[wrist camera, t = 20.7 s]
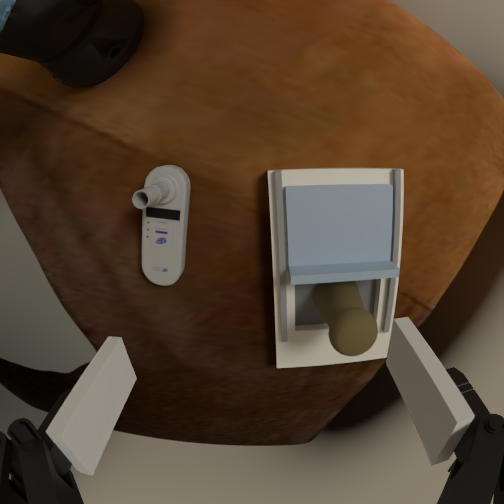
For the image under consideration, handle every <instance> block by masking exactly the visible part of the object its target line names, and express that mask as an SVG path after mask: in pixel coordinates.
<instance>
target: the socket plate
mask: <svg viewBox="0 0 504 504" xmlns="http://www.w3.org/2000/svg"><path fill="white" fill-rule="evenodd" d="M267 171H268V188H269V205H270V222H271V241H272V261H273V283H274V306H275V331H276V360H277V368H289V367H304V366H317V365H328V364H339V363H348V362H356V361H364V360H372V359H379V358H386V357H387V352H388V347H389V341H390V336H391V330H392V324H393V317H394V311H395V303H396V296H397V288H398V279H399V277H396V278H384V279H371V280H358V281H355V283H356V284H357V287H358V290H359V293H360V296H361V299H362V302H363V305H364V309H365V310H367V311H368V312H369V313H371V314H372V315H373V317H374V318H375V320H376V322H377V327H378V335H377V339H376V341H375V343H374V344H373V346H372V347H371V348H370V349H369V350H368V351H366V352H365V353H363V354H361V355H358V356H346V355H342V354H340V353H339V352H337V351H336V350H335V349H334V348H333V346H332V345H331V343H330V340H329V335H328V333H329V326H328V324H327V323H326V321H325V320H324V318H323V317H322V315H321V314H320V312H319V310H318V309H317V307H316V306H315V304H314V301H313V290H314V288H315V286H316V284H317V283H314V284H297V285H291V283H290V277H289V271H288V241H287V216H286V195H285V186H303V185H339V184H391V185H393V215H392V239H391V255H390V261H391V262H393V263H394V264H395V265H396V266H397V267H398V268H399V269H400V258H401V244H402V227H403V193H404V176H403V169H395V168H307V169H281V170H267Z"/></svg>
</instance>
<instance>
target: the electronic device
mask: <svg viewBox="0 0 504 504" xmlns="http://www.w3.org/2000/svg"><path fill="white" fill-rule="evenodd" d="M189 199H190V180H189V178H188V175H187V174H186V173H185V172H184V170H183V169H182V168H179V167H177V166H175V165H164V166H160V167H157V168H155V169H154V170H152V171H151V172H150V173H149V175H148V176H147V178H146V180H145V185H144V189H141V190H139V191H137V192H135V193H134V195H133V198H132V201H133V204H134V205H135V207H137V208H139V209H143V218H142V269H143V272H144V274H145V275H146V277H147V278H148V279H149V280H150V281H151V282H153V283H155V284H158V285H171V284H173V283H175V282H176V281H177V280H178V279H179V277H180V275H181V274H182V272H183V270H184V267H185V251H186V236H187V223H188V210H189Z"/></svg>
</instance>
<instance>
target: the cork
mask: <svg viewBox="0 0 504 504" xmlns="http://www.w3.org/2000/svg"><path fill="white" fill-rule="evenodd" d="M313 301H314V304H315V306H316V307H317V309H318V310H319V312H320V314H321V315H322V317H323V318H324V320H325V321H326V323H327V324H328V326H329V333H328V335H329V340H330V343H331V345H332V346H333V348H334V349H335V350H336V351H337V352H339V353H340V354H342V355H346V356H358V355H361V354H363V353H365V352H366V351H368V350H369V349H370V348H371V347H372V346H373V344H374V343H375V341H376V339H377V335H378V327H377V322H376V320H375V318H374V317H373V315H372V314H371V313H369V312H368V311H367V310H365V309H364V305H363V302H362V299H361V296H360V293H359V290H358V287H357V284H356V283H355V281H344V282H330V283H317V284H316V286H315V288H314V290H313Z"/></svg>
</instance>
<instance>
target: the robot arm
mask: <svg viewBox="0 0 504 504" xmlns="http://www.w3.org/2000/svg"><path fill="white" fill-rule="evenodd" d="M143 25H144V19H143V13H142V11H141V8H140V7H139V5H138V4H137V3H136V2H135V1H134V0H0V53H4V54H8V55H13V56H17V57H21V58H25V59H29V60H32V61H36V62H39V63H40V64H41V65H42V66H43V67H45V68H46V69H47V70H48V71H49V73H50V74H51V76H52V77H53V78H54V79H56V80H57V81H59V82H60V83H63V84H66V85H69V86H73V87H88V86H92V85H95V84H98V83H100V82H102V81H104V80H106V79H107V78H109V77H110V76H112V75H113V74H114V73H116V72H117V71H118V70H119V69H120V68H121V67H122V66H123V65H124V64H125V63H126V62H127V61H128V59H129V58H130V57H131V55H132V54H133V52H134V51H135V49H136V47H137V45H138V43H139V41H140V38H141V35H142V32H143ZM386 364H387V366H388V368H389V370H390V372H391V375H392V377H393V379H394V381H395V383H396V385H397V387H398V389H399V391H400V393H401V396H402V398H403V400H404V402H405V404H406V406H407V408H408V411H409V413H410V415H411V417H412V420H413V422H414V424H415V426H416V429H417V431H418V433H419V436H420V438H421V440H422V442H423V445H424V447H425V450H426V452H427V455H428V457H429V460H430V462H431V465H435V464H438V463H440V462H443V461H446V460H448V459H449V458H450V456H451V455H452V453H453V452H455V455H456V457H457V458H456V460H455V461H454V463H453V464H452V465H451V467H450V468H449V470H448V472H450V471H451V472H450V475H449V477H448V480H447V482H446V484H445V487H444V489H443V491H442V494H441V496H440V498H439V500H438V502H437V504H490V503H491V500H492V497H493V494H494V500H493V504H504V418H503V417H502V416H500V415H497V414H490V413H489V411H488V409H487V408H486V406H485V405H484V403H483V402H482V400H481V399H480V397H479V396H478V394H477V393H476V392H475V390H473V387H472V386H471V384H470V383H469V381H468V380H467V378H466V377H465V376H464V374H463V373H462V372H460V371H459V370H457V369H456V368H454V367H453V368H450V369H446V370H445V368H444V367H443V366H442V364H441V362H440V361H439V359H438V358H437V357H436V355H435V354H434V352H433V351H432V349H431V348H430V347H429V345H428V344H427V342H426V341H425V340H424V338H423V337H422V336H421V334H420V333H419V331H418V330H417V329H416V327H415V326H414V324H413V323H412V322H411V320H410V319H409V318H408V317H404V318H398V319H394V321H393V328H392V334H391V340H390V346H389V352H388V357H387V362H386ZM136 379H137V377H136V375H135V372H134V370H133V367H132V365H131V362H130V360H129V357H128V355H127V352H126V349H125V346H124V344H123V341H122V338H121V337H108V338H107V339H106V341H105V342H104V344H103V345H102V347H101V348H100V349H99V351H98V352H97V354H96V355H95V357H94V358H93V359H92V361H91V362H90V364H89V365H88V367H87V368H86V370H85V371H84V373H83V374H82V376H81V377H80V379H79V380H78V382H77V383H76V385H75V386H74V388H73V389H67V390H66V391H65V392H64V393H62V394H61V395H60V396H59V398H58V399H57V401H56V402H55V404H54V406H53V407H52V409H51V411H50V412H49V413H48V415H47V416H46V418H45V419H44V421H43V423H42V424H41V426H40V427H39V429H38V430H36V428H35V427H34V425H33V424H32V423H31V421H29V420H28V419H25V418H21V419H18V420H15V421H14V422H13V423H12V424H10V426H9V428H8V432H7V434H8V435H9V436H10V437H11V439H12V440H9V439H8V438H7V437H6V435H5V434H4V433H2V432H0V504H84V503H83V500H82V498H81V495H80V492H79V490H78V487H77V484H76V482H75V479H74V476H73V474H72V472H71V470H70V467H71V465H73V466H74V467H75V468H76V469H77V470H78V471H79V472H82V473H85V474H89V475H92V476H93V474H94V472H95V470H96V467H97V465H98V463H99V460H100V458H101V455H102V453H103V451H104V448H105V446H106V444H107V442H108V440H109V437H110V435H111V433H112V431H113V428H114V426H115V424H116V422H117V420H118V417H119V415H120V413H121V411H122V409H123V407H124V404H125V402H126V400H127V398H128V396H129V394H130V392H131V390H132V387H133V385H134V383H135V381H136ZM9 474H10V475H11V480H9Z"/></svg>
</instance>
